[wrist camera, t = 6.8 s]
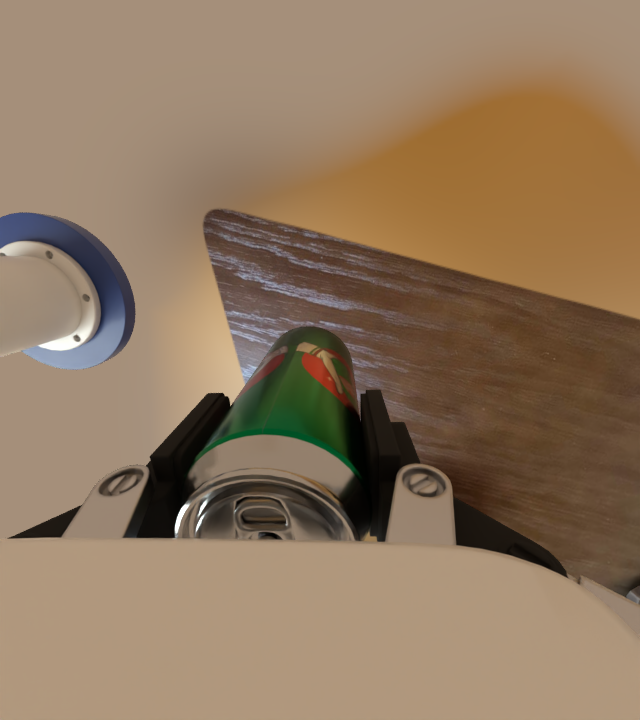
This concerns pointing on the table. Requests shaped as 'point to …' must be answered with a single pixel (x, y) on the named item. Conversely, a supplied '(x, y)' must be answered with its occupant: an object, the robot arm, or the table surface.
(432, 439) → the table surface
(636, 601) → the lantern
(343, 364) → the soda can
